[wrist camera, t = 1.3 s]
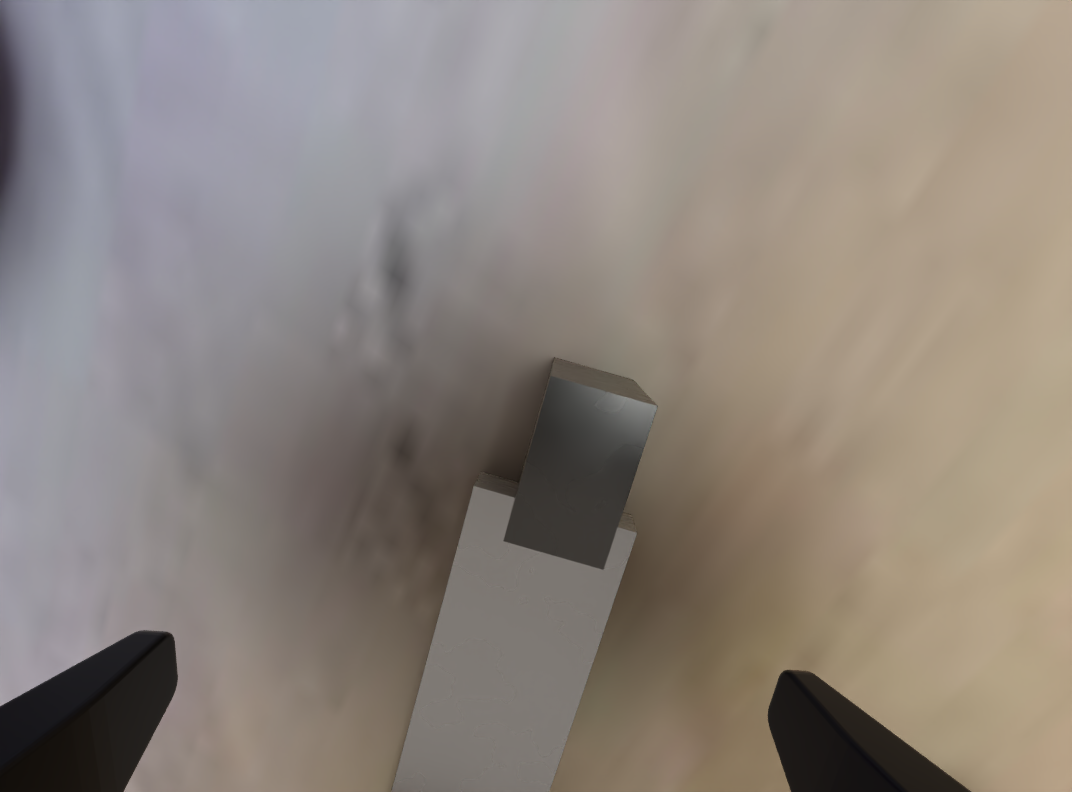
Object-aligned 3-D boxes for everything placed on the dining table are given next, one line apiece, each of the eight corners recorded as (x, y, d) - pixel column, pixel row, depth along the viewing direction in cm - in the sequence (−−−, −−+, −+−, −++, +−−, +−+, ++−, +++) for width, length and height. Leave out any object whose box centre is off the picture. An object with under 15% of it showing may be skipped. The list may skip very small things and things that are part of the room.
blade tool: (672, 391, 19) (711, 421, 14) (509, 877, 23) (494, 1034, 18) (515, 346, 19) (497, 360, 14) (381, 840, 23) (330, 986, 18)
